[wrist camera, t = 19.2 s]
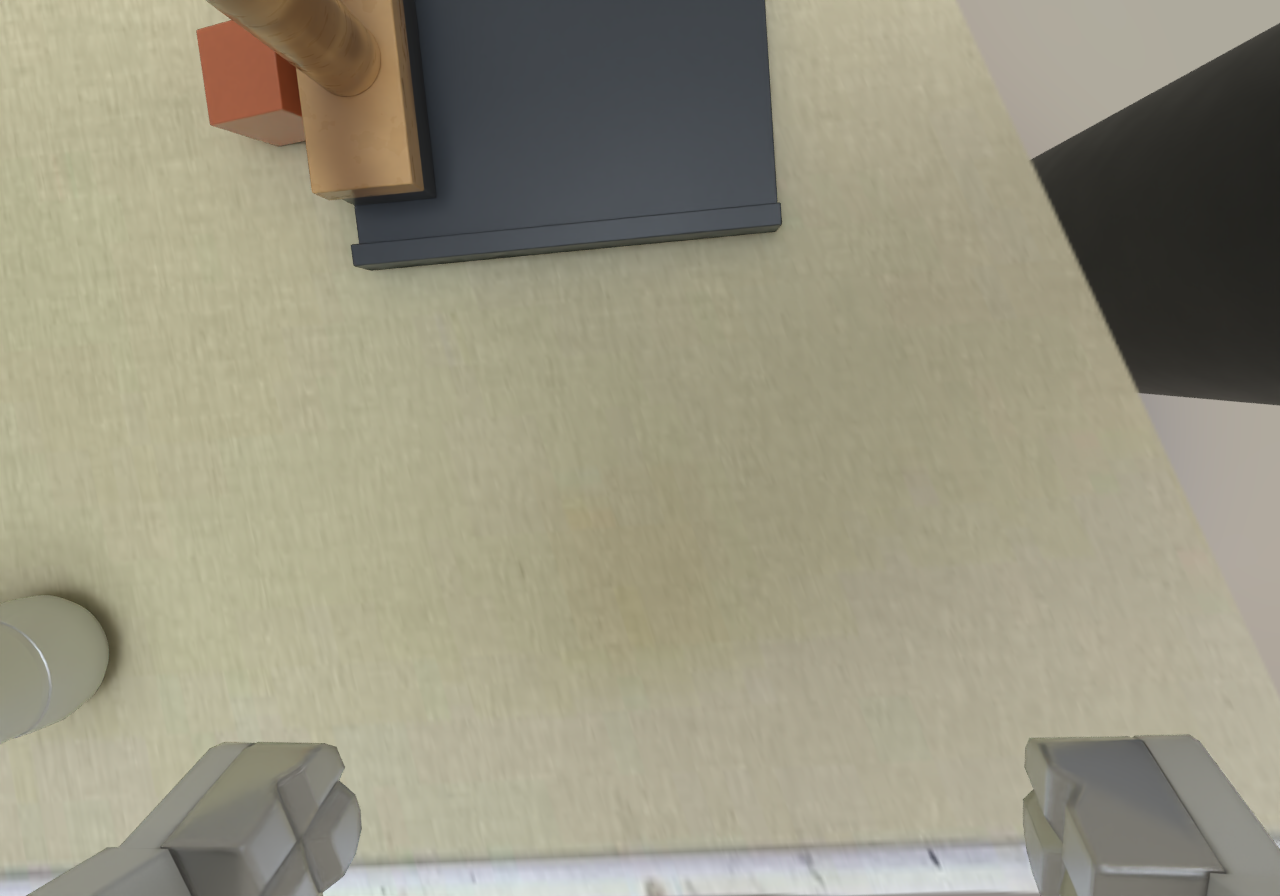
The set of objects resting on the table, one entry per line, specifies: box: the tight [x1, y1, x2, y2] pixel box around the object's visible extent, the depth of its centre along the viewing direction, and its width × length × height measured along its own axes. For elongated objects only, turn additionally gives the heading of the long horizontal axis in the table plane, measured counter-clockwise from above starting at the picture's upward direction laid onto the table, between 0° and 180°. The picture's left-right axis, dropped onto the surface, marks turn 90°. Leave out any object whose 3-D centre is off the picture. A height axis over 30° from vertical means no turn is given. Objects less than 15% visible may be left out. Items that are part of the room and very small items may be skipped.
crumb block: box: [196, 20, 305, 146], centre depth 34 cm, size 4×4×4 cm
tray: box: [351, 0, 782, 270], centre depth 35 cm, size 20×16×2 cm
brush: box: [206, 0, 436, 206], centre depth 26 cm, size 4×10×18 cm, turn 5°
